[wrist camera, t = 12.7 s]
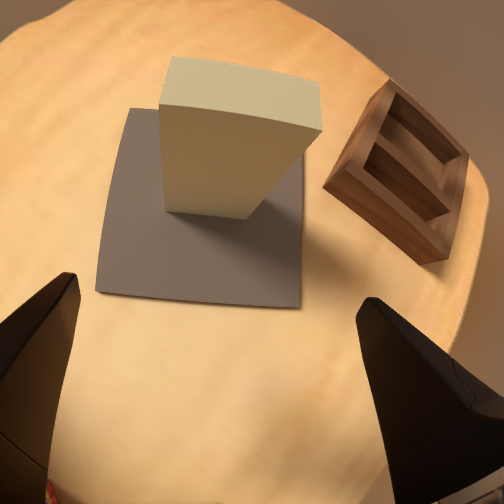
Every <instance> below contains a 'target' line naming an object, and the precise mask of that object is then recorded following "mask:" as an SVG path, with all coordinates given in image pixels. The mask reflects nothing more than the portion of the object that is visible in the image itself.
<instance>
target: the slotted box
mask: <svg viewBox="0 0 504 504" xmlns="http://www.w3.org/2000/svg"><path fill="white" fill-rule="evenodd" d="M468 160H469V154H468V153H467V152H466V151H465V149H464V148H463V147H462V146H461V145H460V144H459V143H458V142H457V141H456V140H455V139H454V137H453V136H452V135H451V134H450V133H449V132H448V131H447V130H446V129H445V128H444V127H443V126H442V125H441V124H440V123H439V122H438V121H437V120H436V119H435V118H434V117H433V116H432V115H431V114H430V113H428V112H427V111H426V110H425V109H424V108H423V107H422V106H421V105H420V104H419V103H418V102H417V101H415V100H414V99H413V98H412V97H411V96H410V95H409V94H407V93H406V92H405V91H404V90H403V89H402V88H400V87H399V86H398V85H397V84H396V83H394V82H393V81H392V80H391V79H389V80H388V81H387V82H386V83H385V84H384V85H383V86H382V87H381V88H380V89H379V90H378V91H377V92H376V93H375V94H374V95H373V96H372V97H371V98H370V100H369V102H368V104H367V106H366V108H365V110H364V111H363V113H362V115H361V117H360V119H359V121H358V123H357V125H356V127H355V128H354V130H353V132H352V134H351V136H350V138H349V140H348V142H347V143H346V145H345V147H344V149H343V151H342V153H341V155H340V156H339V158H338V160H337V162H336V164H335V166H334V167H333V169H332V171H331V173H330V175H329V177H328V178H327V180H326V182H325V184H324V186H323V187H322V188H324V189H325V190H326V191H328V192H329V193H331V194H332V195H333V196H335V197H336V198H337V199H339V200H340V201H341V202H343V203H344V204H345V205H347V206H348V207H349V208H350V209H352V210H353V211H354V212H356V213H357V214H358V215H359V216H361V217H362V218H363V219H365V220H366V221H367V222H368V223H370V224H371V225H372V226H373V227H375V228H376V229H377V230H378V231H380V232H381V233H382V234H383V235H384V236H386V237H387V238H388V239H389V240H390V241H392V242H393V243H394V244H395V245H396V246H398V247H399V248H400V249H401V250H402V251H404V252H405V253H406V254H407V255H408V256H409V257H411V258H412V259H413V260H414V261H415V262H416V263H417V264H419V265H422V264H427V263H432V262H436V261H441V260H446V259H448V257H449V254H450V250H451V246H452V242H453V238H454V234H455V230H456V226H457V222H458V217H459V212H460V208H461V203H462V197H463V192H464V186H465V180H466V174H467V167H468Z"/></svg>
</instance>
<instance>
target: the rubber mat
mask: <svg viewBox="0 0 504 504" xmlns="http://www.w3.org/2000/svg"><path fill="white" fill-rule="evenodd" d="M301 246H302V155H301V156H300V157H299V158H298V160H297V161H296V162H295V163H294V164H293V165H292V166H291V168H290V169H289V170H288V171H287V172H286V173H285V175H284V176H283V177H282V178H281V179H280V180H279V182H278V183H277V184H276V185H275V186H274V187H273V189H272V190H271V191H270V192H269V193H268V195H267V196H266V197H265V198H264V199H263V200H262V202H261V203H260V204H259V205H258V206H257V208H256V209H255V210H254V211H253V212H252V214H251V215H250V216H249V217H248V218H247V219H246V220H243V219H234V218H225V217H216V216H207V215H197V214H187V213H177V212H167V211H165V201H164V190H163V177H162V163H161V146H160V125H159V110H154V109H140V108H130V110H129V113H128V117H127V120H126V124H125V127H124V131H123V134H122V138H121V142H120V146H119V150H118V154H117V158H116V162H115V167H114V171H113V175H112V180H111V185H110V190H109V195H108V200H107V205H106V211H105V217H104V222H103V229H102V235H101V242H100V249H99V257H98V266H97V275H96V285H95V291H100V292H108V293H117V294H125V295H134V296H144V297H153V298H164V299H174V300H185V301H197V302H210V303H223V304H238V305H254V306H272V307H294V308H299V301H300V278H301Z"/></svg>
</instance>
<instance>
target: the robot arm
mask: <svg viewBox="0 0 504 504" xmlns="http://www.w3.org/2000/svg"><path fill="white" fill-rule="evenodd" d="M80 301H81V294H80V289H79V284H78V278H77V275H76V274H75V273H69V272H63V273H61V274H60V275H58V276H57V277H56V278H55V279H53V280H52V281H51V282H49V283H48V284H47V285H46V286H44V287H43V288H42V289H41V290H39V291H38V292H37V293H36V294H34V295H33V296H32V297H31V298H30V299H28V300H27V301H26V302H25V303H24V304H22V305H21V306H20V307H19V308H18V309H16V310H15V311H14V312H13V313H12V314H11V315H9V316H8V317H7V318H6V319H5V320H4V321H2V322H1V323H0V504H45V500H46V486H47V475H48V472H47V471H48V465H49V457H50V449H51V442H52V436H53V430H54V424H55V419H56V413H57V408H58V403H59V399H60V394H61V389H62V385H63V381H64V377H65V372H66V368H67V365H68V361H69V357H70V353H71V349H72V344H73V339H74V333H75V327H76V322H77V317H78V311H79V306H80ZM356 325H357V331H358V336H359V341H360V347H361V353H362V358H363V362H364V366H365V370H366V373H367V377H368V381H369V385H370V388H371V392H372V396H373V400H374V404H375V408H376V412H377V416H378V420H379V424H380V429H381V433H382V438H383V442H384V447H385V451H386V456H387V461H388V465H389V471H390V476H391V482H392V487H393V493H394V498H395V504H432V503H434V502H437V501H438V504H504V397H502V396H500V395H499V394H498V393H496V392H495V391H494V390H492V389H491V388H490V387H488V386H487V385H486V384H484V383H483V382H482V381H480V380H479V379H478V378H476V377H475V376H474V375H472V374H471V373H470V372H468V371H467V370H466V369H465V368H464V367H463V366H461V365H460V364H459V363H458V362H457V361H455V360H454V359H453V358H451V357H450V356H449V355H448V354H447V353H446V352H445V351H443V350H442V349H441V348H440V347H439V346H437V345H436V344H435V343H434V342H433V341H431V340H430V339H429V338H428V337H427V336H425V335H424V334H423V333H422V332H420V331H419V330H418V329H417V328H416V327H414V326H413V325H412V324H411V323H409V322H408V321H407V320H406V319H404V318H403V317H402V316H401V315H399V314H398V313H397V312H396V311H394V310H393V309H392V308H391V307H389V306H388V305H387V304H386V303H384V302H383V301H382V300H381V299H379V298H377V297H368V298H366V299H365V300H364V302H363V304H362V306H361V307H360V309H359V311H358V313H357V315H356Z"/></svg>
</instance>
